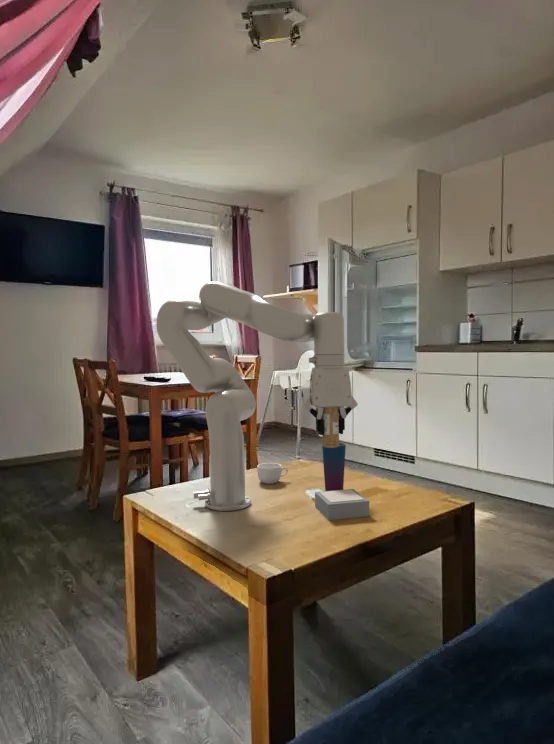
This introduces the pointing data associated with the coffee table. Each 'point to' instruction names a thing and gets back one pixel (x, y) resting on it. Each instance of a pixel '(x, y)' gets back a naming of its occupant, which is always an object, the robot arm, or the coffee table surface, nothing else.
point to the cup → (334, 467)
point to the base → (341, 504)
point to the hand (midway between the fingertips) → (330, 433)
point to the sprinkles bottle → (330, 427)
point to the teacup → (270, 472)
